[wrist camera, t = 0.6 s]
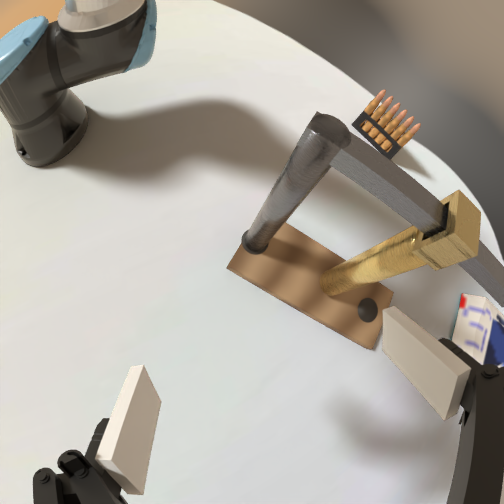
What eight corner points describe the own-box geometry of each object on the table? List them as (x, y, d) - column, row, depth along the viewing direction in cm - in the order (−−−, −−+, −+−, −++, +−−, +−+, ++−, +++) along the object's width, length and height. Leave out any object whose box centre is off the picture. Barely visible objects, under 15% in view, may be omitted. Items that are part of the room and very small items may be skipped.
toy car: (497, 397, 45) (523, 397, 37) (438, 367, 44) (471, 368, 35) (511, 335, 51) (536, 332, 42) (457, 289, 49) (488, 281, 41)
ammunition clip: (391, 157, 54) (425, 125, 42) (388, 161, 53) (422, 129, 42) (355, 121, 54) (383, 85, 43) (351, 124, 54) (379, 87, 42)
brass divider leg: (312, 290, 40) (451, 230, 16) (323, 265, 41) (456, 187, 17) (332, 302, 40) (479, 257, 16) (343, 277, 41) (482, 214, 18)
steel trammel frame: (240, 244, 40) (303, 131, 17) (251, 227, 41) (319, 107, 18) (380, 328, 41) (516, 308, 18) (387, 311, 42) (519, 281, 19)
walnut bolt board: (223, 266, 41) (225, 264, 39) (258, 211, 44) (260, 206, 42) (366, 349, 41) (372, 349, 40) (388, 293, 45) (393, 292, 43)
